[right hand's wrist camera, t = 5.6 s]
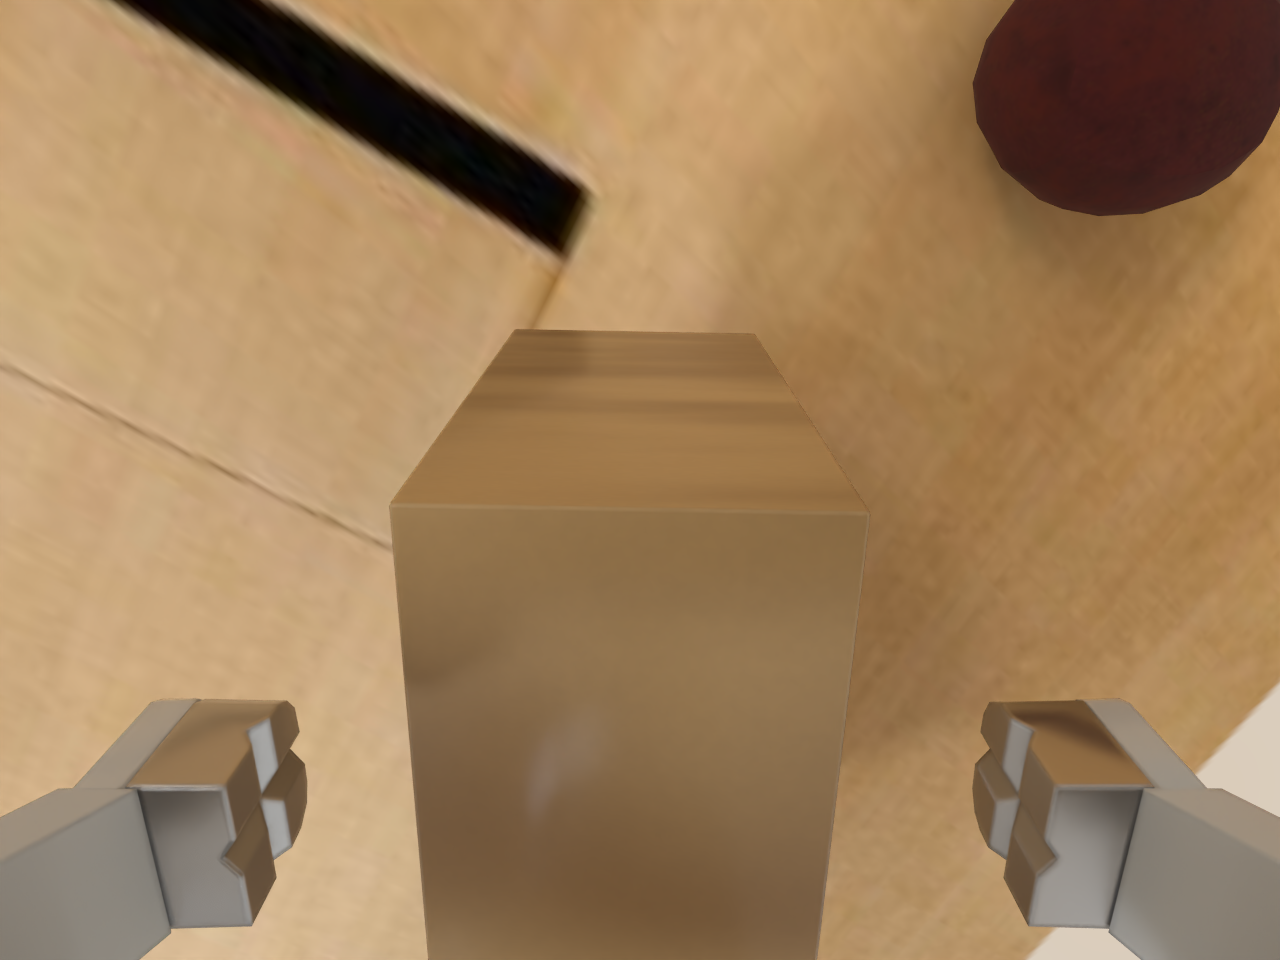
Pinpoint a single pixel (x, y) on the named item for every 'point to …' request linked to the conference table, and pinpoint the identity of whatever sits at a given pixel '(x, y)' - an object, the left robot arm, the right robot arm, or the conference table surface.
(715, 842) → the box
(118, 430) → the conference table surface
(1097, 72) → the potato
